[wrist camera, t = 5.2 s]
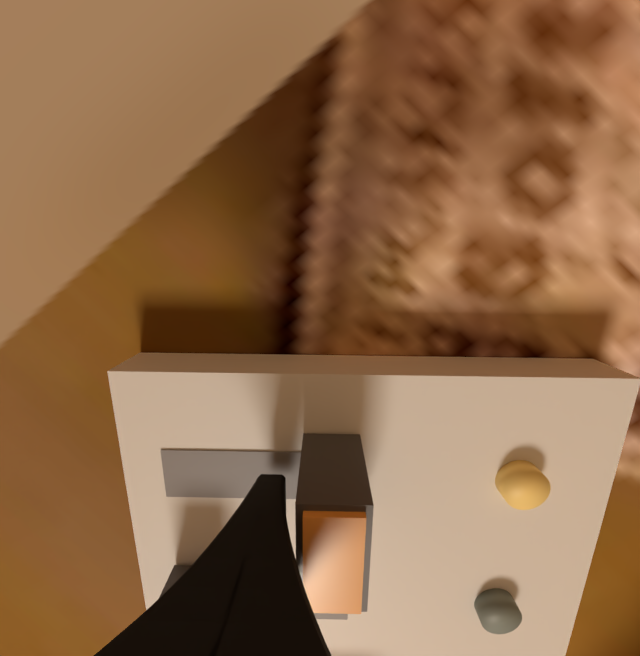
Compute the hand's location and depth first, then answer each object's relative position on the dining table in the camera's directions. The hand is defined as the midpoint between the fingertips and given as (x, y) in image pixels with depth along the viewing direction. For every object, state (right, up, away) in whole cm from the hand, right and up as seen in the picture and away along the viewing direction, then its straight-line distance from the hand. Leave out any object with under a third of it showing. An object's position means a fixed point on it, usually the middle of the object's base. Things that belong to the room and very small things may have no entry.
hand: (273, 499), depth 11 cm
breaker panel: (+3, -2, +4) cm, 5 cm away
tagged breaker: (+2, 0, +1) cm, 2 cm away
